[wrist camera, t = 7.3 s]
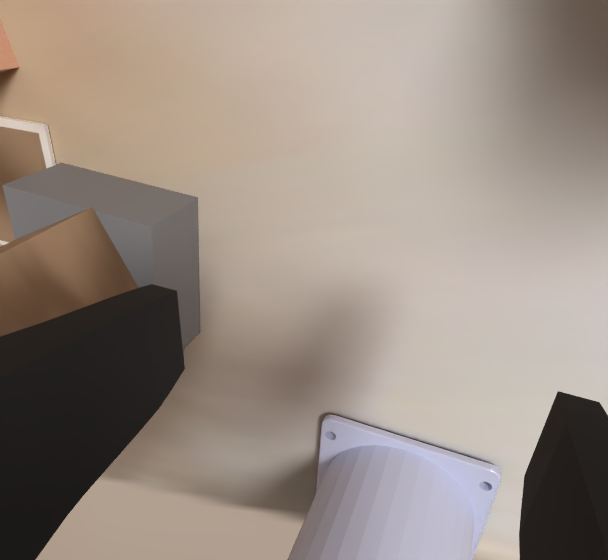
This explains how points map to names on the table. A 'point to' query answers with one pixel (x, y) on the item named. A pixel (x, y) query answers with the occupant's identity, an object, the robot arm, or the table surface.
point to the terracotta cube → (6, 53)
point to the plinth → (121, 226)
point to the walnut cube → (59, 271)
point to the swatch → (20, 159)
